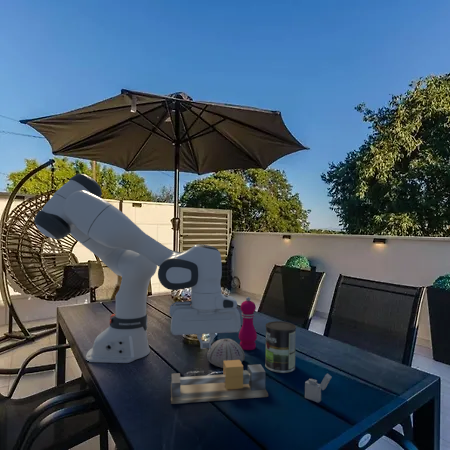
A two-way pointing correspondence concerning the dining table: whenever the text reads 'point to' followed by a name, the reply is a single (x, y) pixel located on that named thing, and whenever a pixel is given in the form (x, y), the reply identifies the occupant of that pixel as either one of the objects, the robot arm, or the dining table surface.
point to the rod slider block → (217, 387)
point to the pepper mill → (248, 326)
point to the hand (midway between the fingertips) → (205, 348)
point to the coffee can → (280, 346)
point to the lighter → (315, 388)
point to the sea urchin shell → (225, 352)
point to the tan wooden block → (233, 374)
